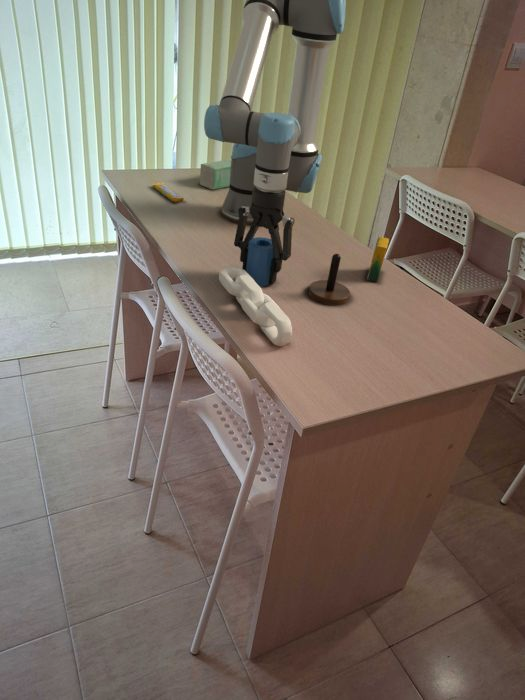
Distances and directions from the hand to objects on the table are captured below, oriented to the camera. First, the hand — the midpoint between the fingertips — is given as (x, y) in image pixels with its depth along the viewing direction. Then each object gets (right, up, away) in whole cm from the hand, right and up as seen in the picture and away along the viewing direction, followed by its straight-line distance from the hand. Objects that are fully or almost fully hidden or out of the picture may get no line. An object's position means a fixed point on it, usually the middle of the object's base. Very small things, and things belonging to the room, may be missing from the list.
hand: (258, 278), depth 135 cm
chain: (-1, -10, -14) cm, 17 cm away
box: (-14, +41, +59) cm, 73 cm away
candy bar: (-31, +33, +44) cm, 63 cm away
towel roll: (0, 0, 0) cm, 1 cm away
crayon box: (+31, +2, +10) cm, 33 cm away
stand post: (+18, -3, -3) cm, 18 cm away
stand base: (+17, -4, -2) cm, 18 cm away
